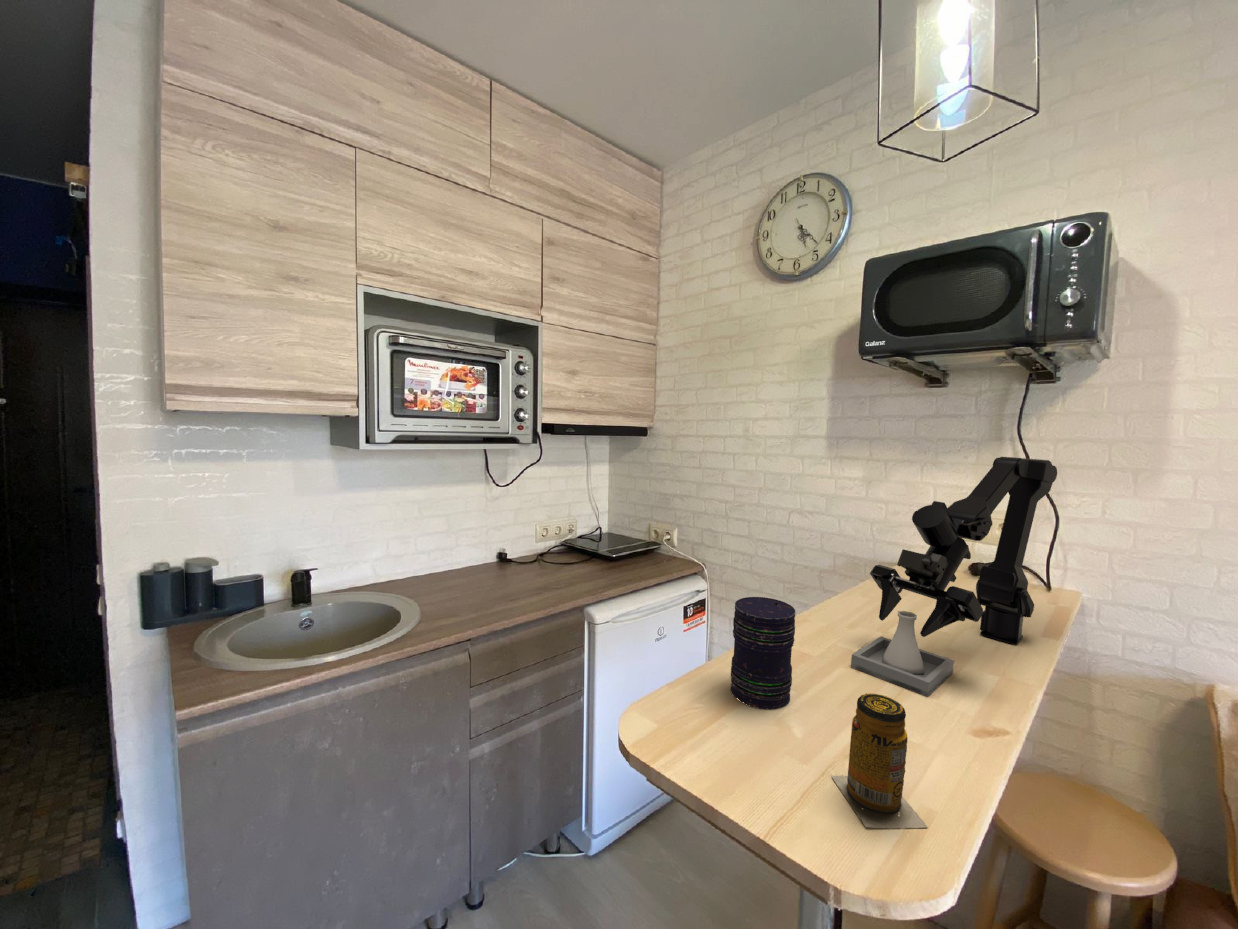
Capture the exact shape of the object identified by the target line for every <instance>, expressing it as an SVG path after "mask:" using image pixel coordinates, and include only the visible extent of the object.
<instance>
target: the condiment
mask: <svg viewBox="0 0 1238 929" xmlns="http://www.w3.org/2000/svg"><path fill="white" fill-rule="evenodd" d="M906 716H907V714H906V710H905V708H904V706H903V705H902V704H901V703H899V702H898V701H896V700H895V699H894V698H892V697H888V696H887V695H882V694H878V693H865V694H862V695H860V696H859V697H858V698H857V701H856V709H855V715H854V716H853V718H852V721H851V730H850V731H851V732H850V743H849V754H848V755H849V756H848V768H847V775H831V778H832V779H833V781H834V782H835V784H836V786H837V788H839V790H840V792H841V793H842V795H843V796H844V798H845V799H846V800H847V803H849V804H850V805H851V807H852V809H853V810H854V813H855V814H856V815H857V817H858V818H859V819H860V820H861V822H862V823H863V825H864V827H865V828H873V829H901V830H903V829H919V828H922V829H923V828H928V825H927V824H926V823H925V821H924V820H923V818H921V817H920V815H919V813H918V812H916V811H915V809H914V808H913V807H912V806H911V804H910V803H909V802H908V801H907V800H906V799H905V798H904V797H903V790H904V783H905V773H906V764H907V761H906V760H907V752H908V739H909V738H908V733H907V730H906V729H905V727H906Z"/></svg>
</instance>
